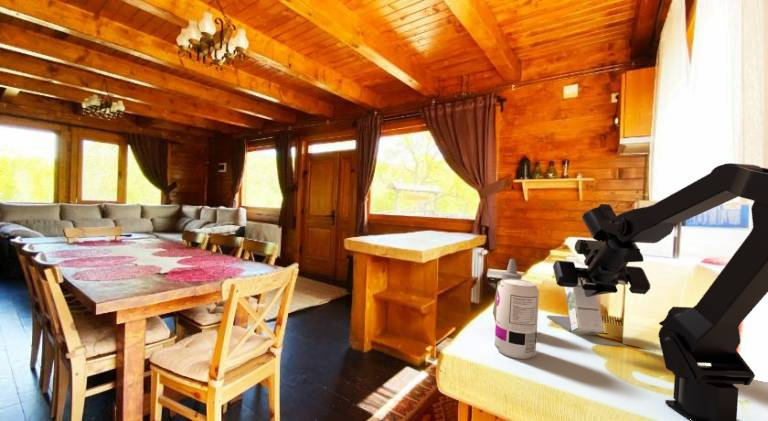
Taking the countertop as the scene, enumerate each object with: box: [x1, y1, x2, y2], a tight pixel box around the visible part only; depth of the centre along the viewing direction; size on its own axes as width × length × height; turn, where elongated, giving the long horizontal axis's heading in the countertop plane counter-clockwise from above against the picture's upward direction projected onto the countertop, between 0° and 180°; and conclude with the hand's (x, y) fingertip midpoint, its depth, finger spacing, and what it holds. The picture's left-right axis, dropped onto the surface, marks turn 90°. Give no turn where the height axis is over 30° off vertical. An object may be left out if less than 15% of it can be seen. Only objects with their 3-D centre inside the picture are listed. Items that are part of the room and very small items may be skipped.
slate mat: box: [546, 315, 572, 333], centre depth 88 cm, size 11×10×1 cm
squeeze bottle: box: [492, 258, 522, 324], centre depth 82 cm, size 8×8×18 cm
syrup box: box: [564, 278, 605, 336], centre depth 83 cm, size 6×6×14 cm
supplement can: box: [494, 278, 540, 360], centre depth 69 cm, size 8×8×15 cm
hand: (586, 294), depth 80 cm, fingers closed
